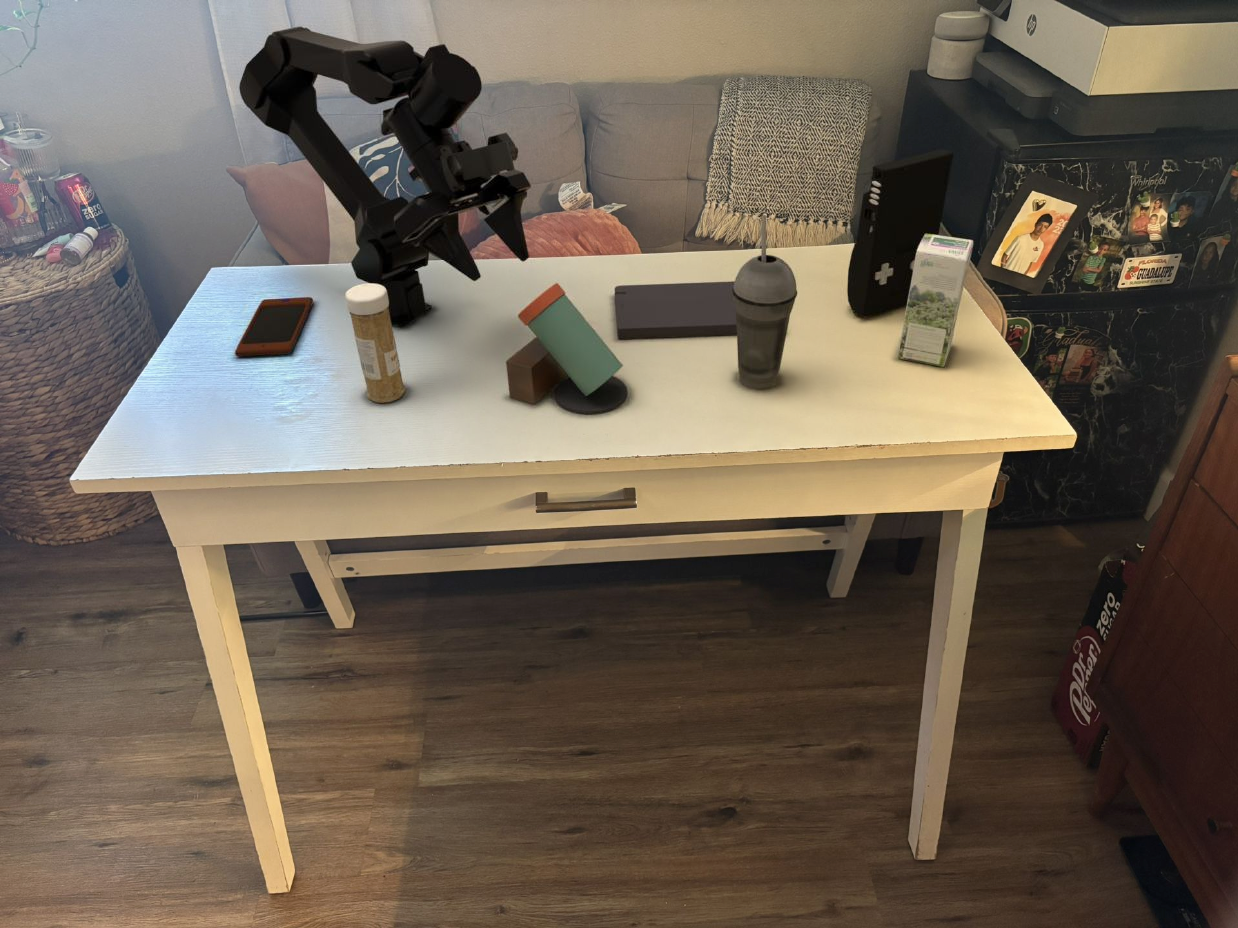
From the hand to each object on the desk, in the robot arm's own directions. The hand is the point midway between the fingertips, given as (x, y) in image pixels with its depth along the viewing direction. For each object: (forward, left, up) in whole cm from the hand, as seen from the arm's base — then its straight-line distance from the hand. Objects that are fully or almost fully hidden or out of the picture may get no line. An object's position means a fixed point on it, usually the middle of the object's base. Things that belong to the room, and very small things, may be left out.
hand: (502, 269), depth 108 cm
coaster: (+12, -2, -13) cm, 18 cm away
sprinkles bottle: (-10, -13, -13) cm, 20 cm away
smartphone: (-34, -7, -13) cm, 37 cm away
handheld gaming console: (+36, +36, -13) cm, 53 cm away
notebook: (+14, +22, -13) cm, 30 cm away
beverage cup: (+28, +10, -13) cm, 33 cm away
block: (+6, -2, -13) cm, 14 cm away
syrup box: (+44, +25, -13) cm, 53 cm away
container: (+10, -2, -12) cm, 16 cm away
